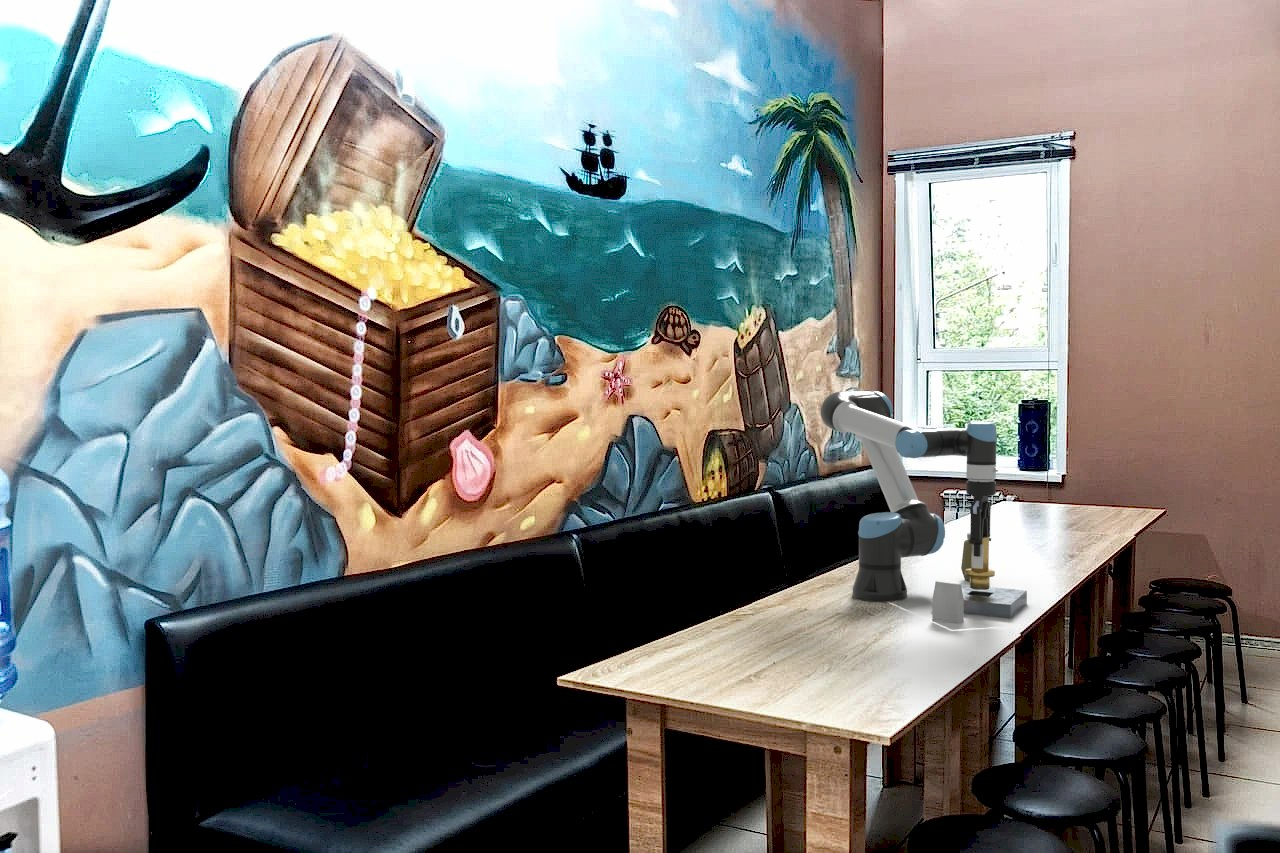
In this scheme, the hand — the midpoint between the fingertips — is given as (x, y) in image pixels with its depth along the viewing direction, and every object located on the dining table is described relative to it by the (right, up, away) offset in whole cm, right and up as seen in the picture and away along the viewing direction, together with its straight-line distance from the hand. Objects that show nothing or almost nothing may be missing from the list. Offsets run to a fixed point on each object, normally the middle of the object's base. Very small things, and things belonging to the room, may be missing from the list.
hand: (979, 566), depth 292 cm
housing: (0, -11, 0) cm, 11 cm away
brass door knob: (0, -6, 0) cm, 6 cm away
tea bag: (-13, -12, -14) cm, 23 cm away
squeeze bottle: (+10, -9, +38) cm, 40 cm away
